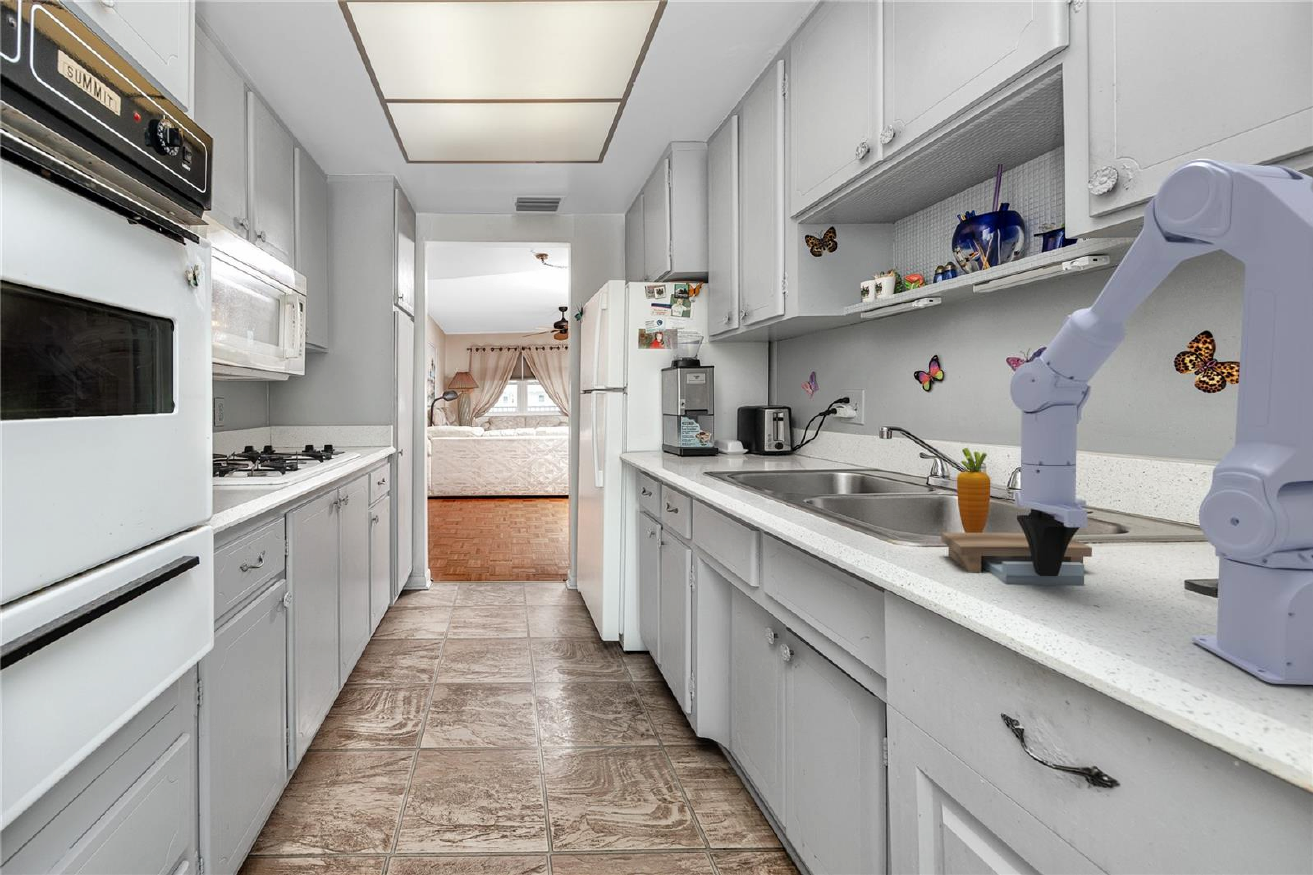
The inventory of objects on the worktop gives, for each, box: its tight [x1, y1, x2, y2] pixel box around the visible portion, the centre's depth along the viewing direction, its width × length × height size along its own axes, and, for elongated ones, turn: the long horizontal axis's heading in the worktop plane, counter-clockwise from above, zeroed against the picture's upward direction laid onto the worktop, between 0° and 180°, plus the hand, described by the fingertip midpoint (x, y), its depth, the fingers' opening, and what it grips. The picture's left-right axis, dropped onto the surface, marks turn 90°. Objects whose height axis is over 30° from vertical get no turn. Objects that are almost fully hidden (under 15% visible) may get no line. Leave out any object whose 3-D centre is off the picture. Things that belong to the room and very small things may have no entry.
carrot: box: [956, 447, 991, 533], centre depth 103 cm, size 5×5×15 cm
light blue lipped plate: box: [981, 556, 1085, 586], centre depth 86 cm, size 11×9×3 cm
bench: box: [940, 532, 1093, 573], centre depth 90 cm, size 9×16×3 cm, turn 82°
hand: (1046, 574), depth 80 cm, fingers closed
